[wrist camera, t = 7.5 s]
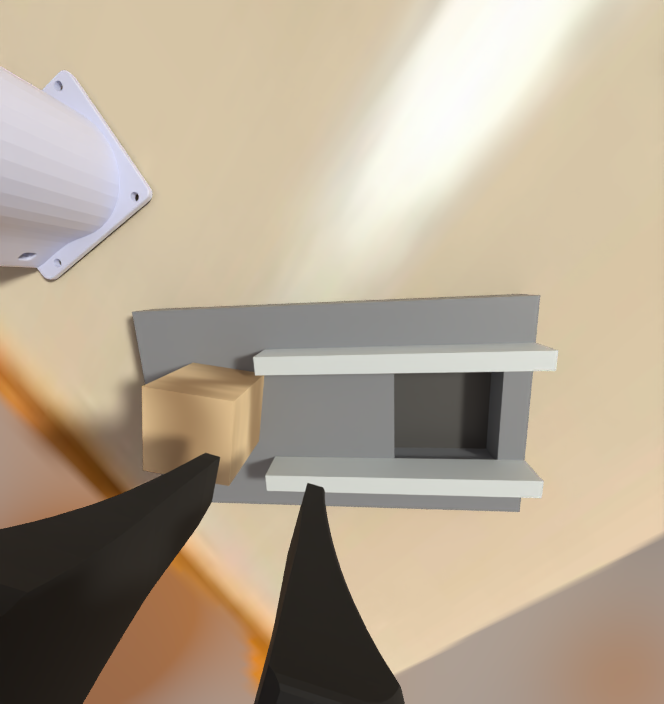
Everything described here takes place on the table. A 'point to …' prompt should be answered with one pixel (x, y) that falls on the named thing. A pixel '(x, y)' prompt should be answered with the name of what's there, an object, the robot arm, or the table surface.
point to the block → (201, 418)
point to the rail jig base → (373, 396)
